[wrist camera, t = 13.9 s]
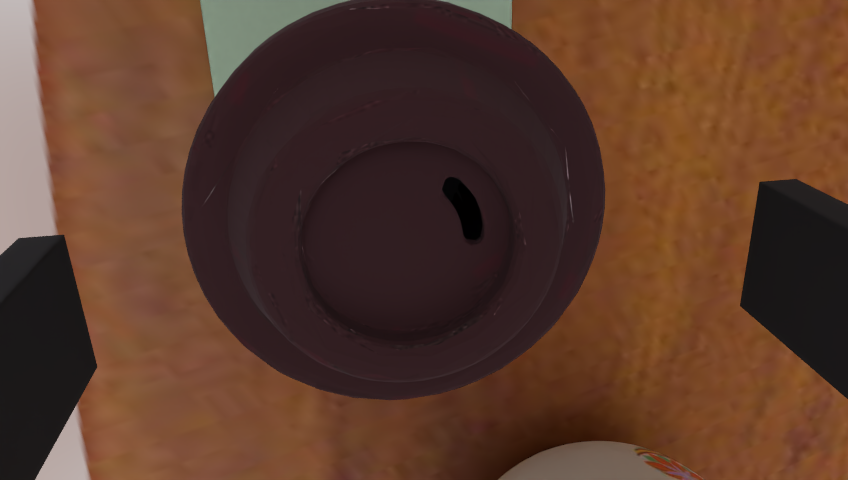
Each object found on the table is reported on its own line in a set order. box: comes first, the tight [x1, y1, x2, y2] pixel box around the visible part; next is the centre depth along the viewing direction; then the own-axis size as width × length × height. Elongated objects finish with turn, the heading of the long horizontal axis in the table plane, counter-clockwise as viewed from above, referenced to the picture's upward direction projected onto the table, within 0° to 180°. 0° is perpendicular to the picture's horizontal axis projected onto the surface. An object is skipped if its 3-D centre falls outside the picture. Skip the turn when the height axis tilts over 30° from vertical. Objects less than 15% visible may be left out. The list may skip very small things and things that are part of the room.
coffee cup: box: [182, 0, 605, 400], centre depth 22 cm, size 10×10×15 cm
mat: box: [200, 0, 512, 97], centre depth 29 cm, size 12×12×1 cm
